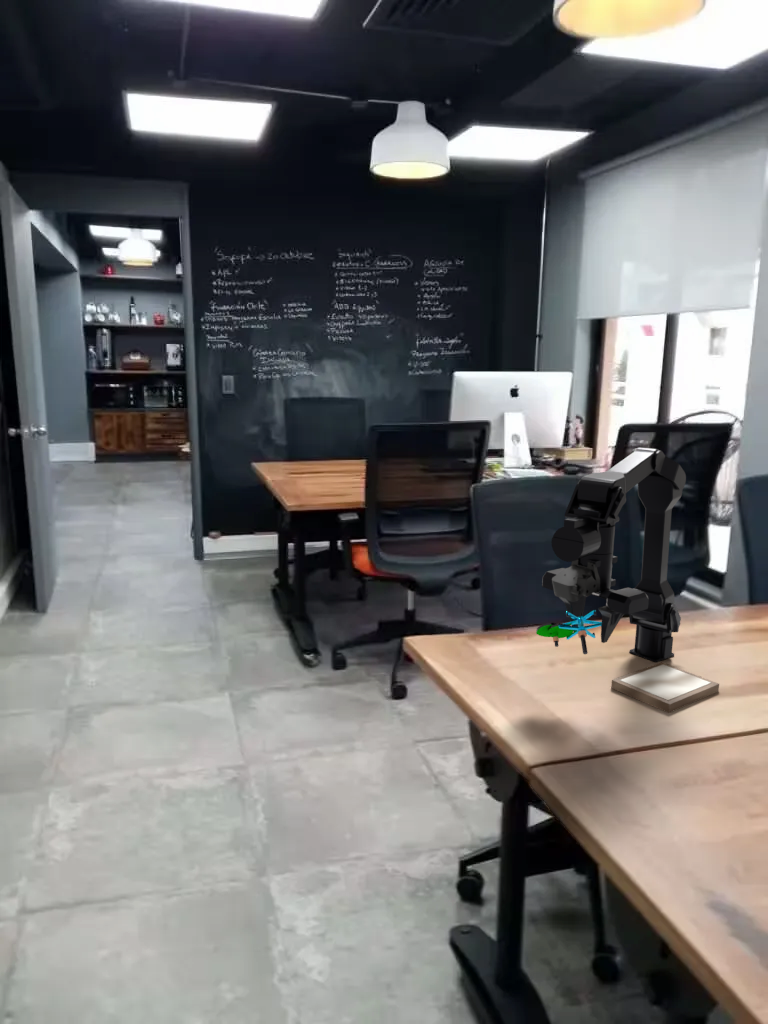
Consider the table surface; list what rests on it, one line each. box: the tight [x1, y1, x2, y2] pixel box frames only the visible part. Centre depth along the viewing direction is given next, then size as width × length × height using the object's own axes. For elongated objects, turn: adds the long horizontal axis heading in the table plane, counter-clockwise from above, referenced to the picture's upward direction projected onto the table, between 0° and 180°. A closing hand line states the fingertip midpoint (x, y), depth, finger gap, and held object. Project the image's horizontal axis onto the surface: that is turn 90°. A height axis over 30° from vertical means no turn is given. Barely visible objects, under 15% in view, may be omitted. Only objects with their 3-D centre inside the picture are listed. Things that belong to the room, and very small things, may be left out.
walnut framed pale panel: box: [610, 661, 720, 714], centre depth 138 cm, size 12×15×2 cm
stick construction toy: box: [535, 609, 602, 655], centre depth 131 cm, size 12×7×8 cm
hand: (589, 636), depth 132 cm, fingers closed on stick construction toy, 6 cm apart
